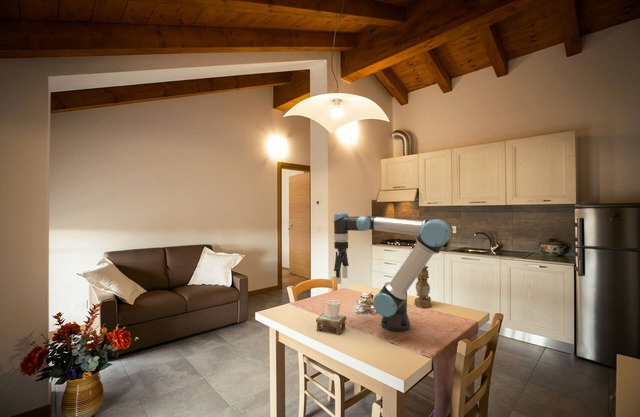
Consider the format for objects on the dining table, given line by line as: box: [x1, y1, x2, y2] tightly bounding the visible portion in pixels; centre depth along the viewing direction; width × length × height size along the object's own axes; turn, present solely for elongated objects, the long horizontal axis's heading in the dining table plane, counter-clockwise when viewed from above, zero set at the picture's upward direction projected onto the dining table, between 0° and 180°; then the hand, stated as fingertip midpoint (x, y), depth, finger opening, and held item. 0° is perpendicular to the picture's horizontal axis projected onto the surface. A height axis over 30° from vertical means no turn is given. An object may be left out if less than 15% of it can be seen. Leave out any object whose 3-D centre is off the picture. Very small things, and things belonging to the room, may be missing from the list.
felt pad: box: [319, 313, 345, 322], centre depth 157 cm, size 11×8×1 cm
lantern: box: [414, 265, 432, 308], centre depth 196 cm, size 15×10×30 cm
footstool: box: [315, 312, 347, 335], centre depth 157 cm, size 13×10×6 cm
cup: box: [321, 299, 341, 319], centre depth 157 cm, size 7×10×8 cm
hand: (341, 280), depth 163 cm, fingers open, 13 cm apart
